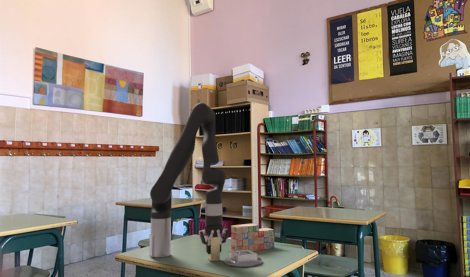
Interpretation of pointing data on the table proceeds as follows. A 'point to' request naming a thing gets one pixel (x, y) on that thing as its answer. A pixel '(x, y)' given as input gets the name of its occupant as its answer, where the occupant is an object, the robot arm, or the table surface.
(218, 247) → the wooden block
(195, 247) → the table surface
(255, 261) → the gray round dish
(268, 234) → the stack of blocks
